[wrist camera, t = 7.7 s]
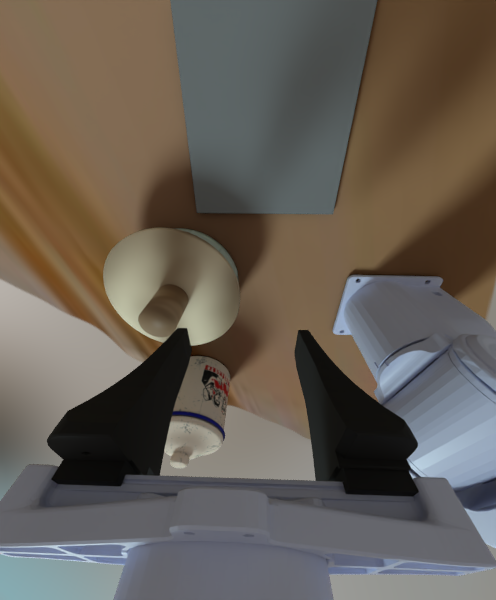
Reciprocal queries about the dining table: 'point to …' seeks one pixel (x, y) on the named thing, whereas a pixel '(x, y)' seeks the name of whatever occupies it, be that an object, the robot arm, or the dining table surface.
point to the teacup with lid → (198, 412)
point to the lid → (172, 285)
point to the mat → (269, 99)
